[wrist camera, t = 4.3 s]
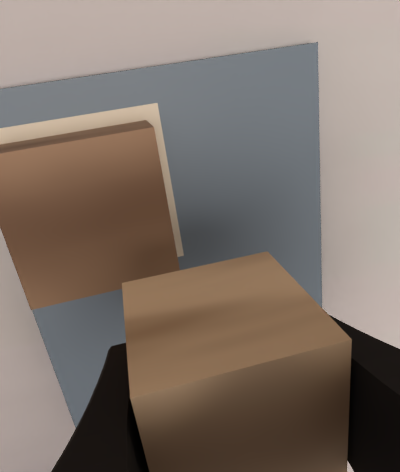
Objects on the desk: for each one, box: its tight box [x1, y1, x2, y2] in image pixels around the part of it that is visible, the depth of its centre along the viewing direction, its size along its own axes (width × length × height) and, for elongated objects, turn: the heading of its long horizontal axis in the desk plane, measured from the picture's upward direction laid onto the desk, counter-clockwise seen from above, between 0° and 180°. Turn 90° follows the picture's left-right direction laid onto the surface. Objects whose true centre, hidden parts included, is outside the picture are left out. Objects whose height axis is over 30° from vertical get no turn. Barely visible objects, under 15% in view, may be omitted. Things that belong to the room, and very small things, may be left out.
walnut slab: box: [0, 120, 180, 310], centre depth 16 cm, size 6×6×3 cm
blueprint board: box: [0, 42, 322, 428], centre depth 19 cm, size 18×15×1 cm
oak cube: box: [122, 251, 352, 472], centre depth 10 cm, size 4×4×4 cm
